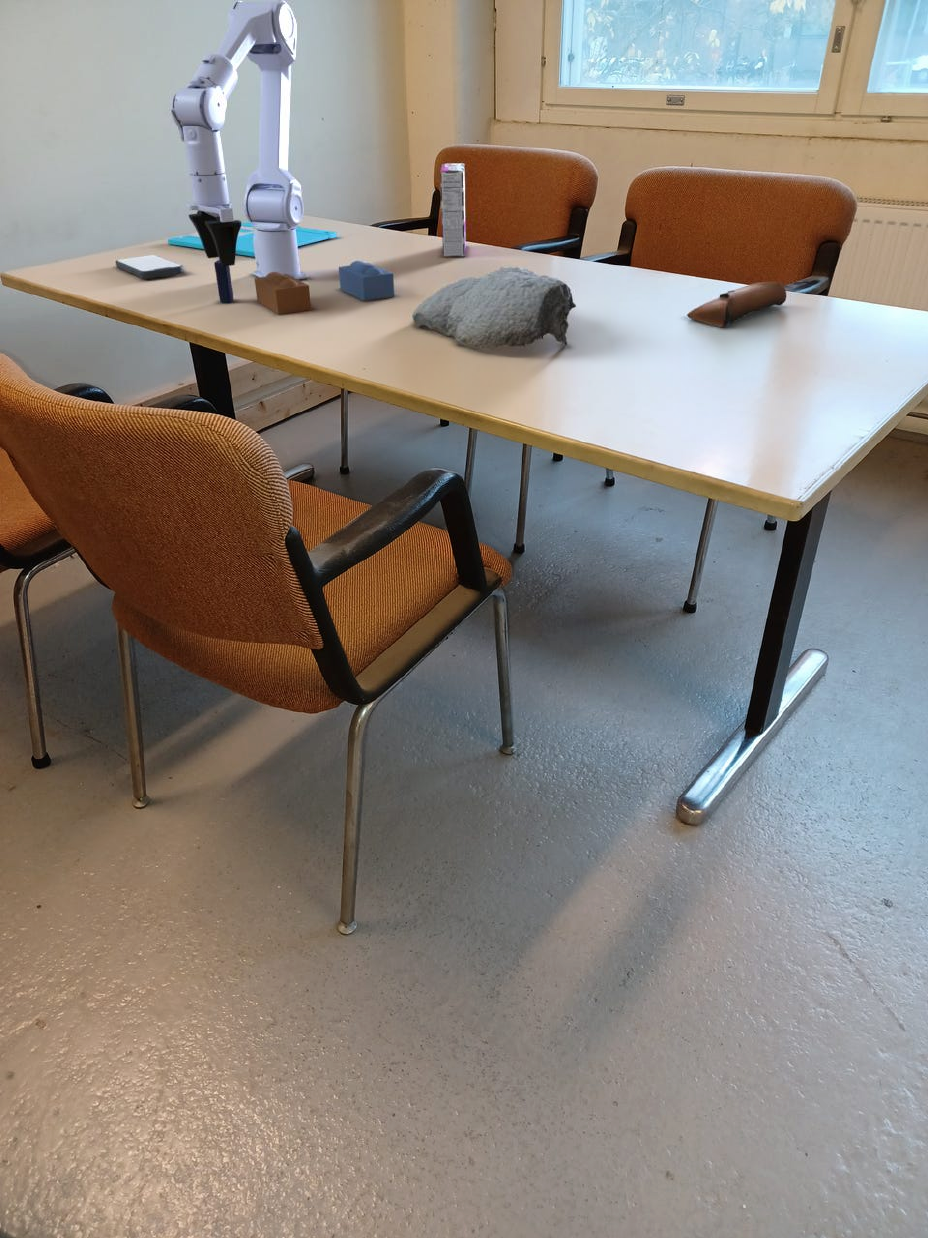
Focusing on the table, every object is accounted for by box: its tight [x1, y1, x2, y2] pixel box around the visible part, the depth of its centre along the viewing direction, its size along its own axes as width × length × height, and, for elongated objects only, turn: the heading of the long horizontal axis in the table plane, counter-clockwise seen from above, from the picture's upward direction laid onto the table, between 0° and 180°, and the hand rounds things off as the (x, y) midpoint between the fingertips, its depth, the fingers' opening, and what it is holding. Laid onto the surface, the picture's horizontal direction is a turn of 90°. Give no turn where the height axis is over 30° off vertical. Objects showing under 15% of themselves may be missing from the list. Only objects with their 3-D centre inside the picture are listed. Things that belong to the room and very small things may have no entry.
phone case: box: [115, 254, 185, 280], centre depth 176 cm, size 9×2×16 cm
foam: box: [411, 266, 577, 349], centre depth 137 cm, size 28×21×9 cm
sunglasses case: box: [686, 281, 787, 328], centre depth 146 cm, size 18×7×7 cm, turn 135°
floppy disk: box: [167, 221, 338, 258], centre depth 200 cm, size 26×28×1 cm
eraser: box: [213, 259, 234, 304], centre depth 154 cm, size 2×2×7 cm
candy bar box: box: [439, 162, 467, 258], centre depth 185 cm, size 11×5×16 cm, turn 179°
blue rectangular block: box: [338, 260, 395, 302], centre depth 159 cm, size 10×6×5 cm, turn 31°
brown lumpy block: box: [254, 272, 312, 315], centre depth 152 cm, size 10×6×5 cm, turn 31°
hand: (220, 261), depth 152 cm, fingers open, 7 cm apart
